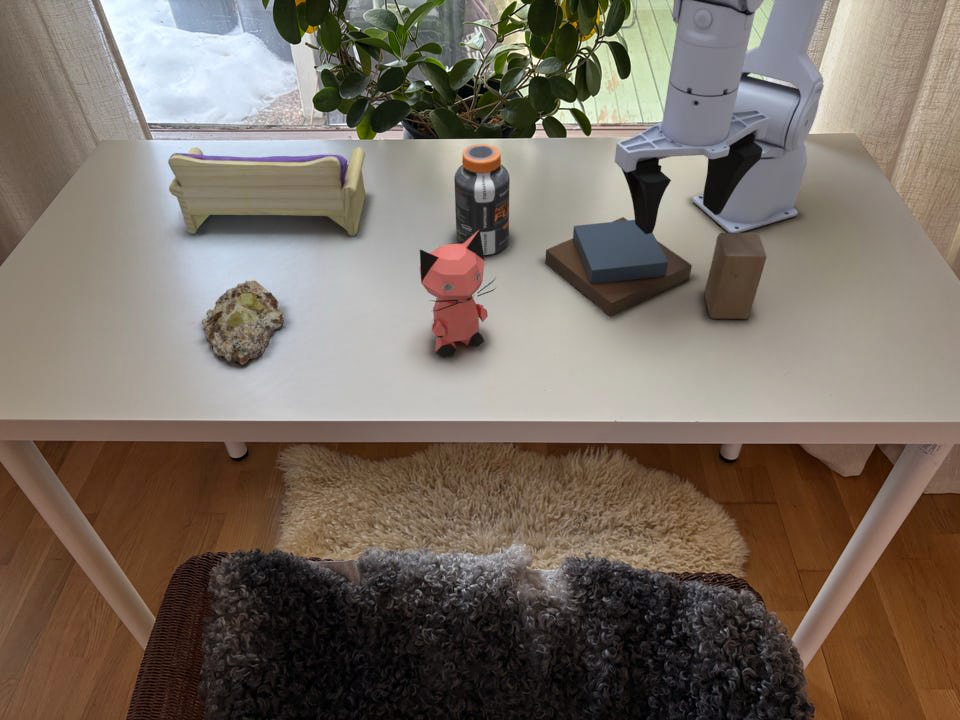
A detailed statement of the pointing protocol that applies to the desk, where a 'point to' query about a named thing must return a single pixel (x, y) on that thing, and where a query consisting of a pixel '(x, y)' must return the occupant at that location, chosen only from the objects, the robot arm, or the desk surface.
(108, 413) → the desk surface
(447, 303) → the cat figurine
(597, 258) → the top tile
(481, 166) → the pill bottle
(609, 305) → the base slab
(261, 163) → the toy sofa
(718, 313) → the wooden block
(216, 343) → the mineral rock
